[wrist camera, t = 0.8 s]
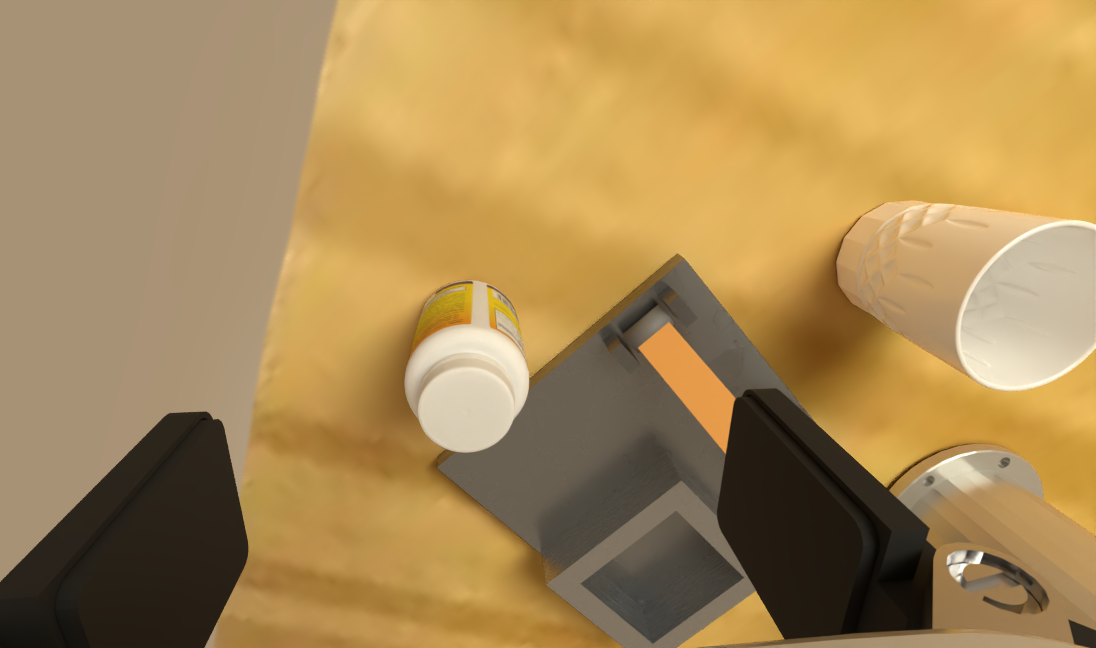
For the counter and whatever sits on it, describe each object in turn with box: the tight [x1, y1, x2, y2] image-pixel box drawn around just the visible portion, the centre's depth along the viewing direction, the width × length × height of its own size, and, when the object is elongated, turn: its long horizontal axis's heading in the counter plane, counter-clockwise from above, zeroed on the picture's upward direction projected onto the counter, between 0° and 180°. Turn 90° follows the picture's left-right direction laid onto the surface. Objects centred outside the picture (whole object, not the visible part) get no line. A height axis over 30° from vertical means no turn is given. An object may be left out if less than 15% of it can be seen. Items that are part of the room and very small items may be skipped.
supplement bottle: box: [404, 280, 529, 453], centre depth 28 cm, size 6×6×10 cm
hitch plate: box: [437, 254, 814, 648], centre depth 35 cm, size 20×19×4 cm
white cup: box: [836, 200, 1096, 391], centre depth 29 cm, size 8×8×10 cm
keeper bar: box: [623, 304, 736, 454], centre depth 30 cm, size 11×3×1 cm
